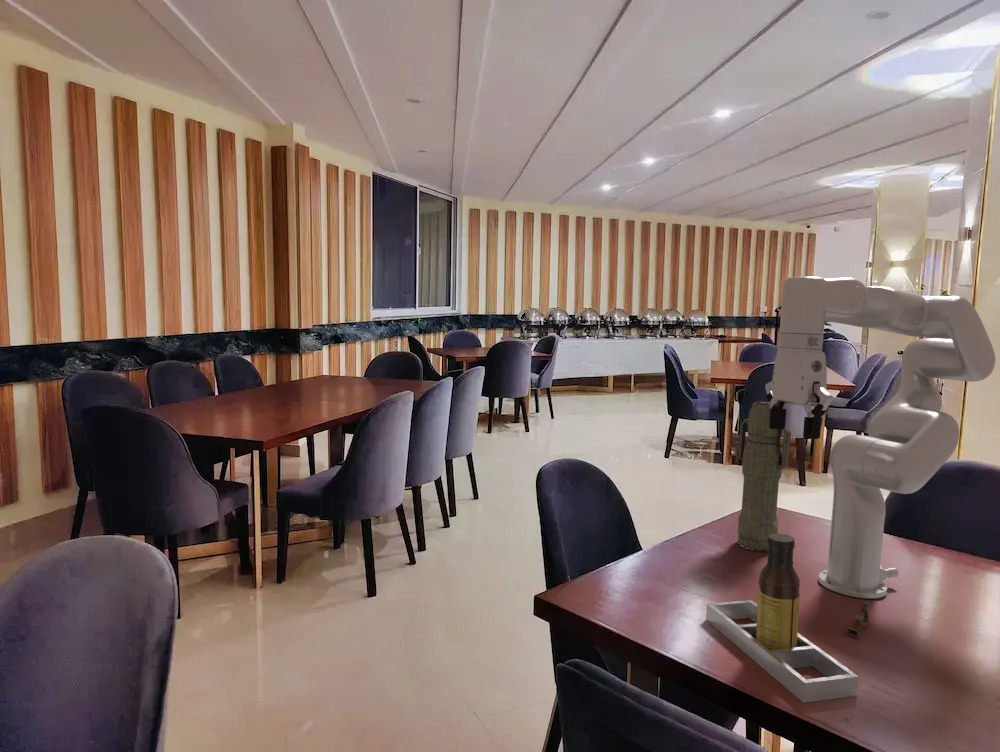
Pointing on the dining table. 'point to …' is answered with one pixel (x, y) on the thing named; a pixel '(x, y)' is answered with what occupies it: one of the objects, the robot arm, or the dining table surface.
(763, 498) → the thermos
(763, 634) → the sauce bottle
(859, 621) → the wooden post with brackets
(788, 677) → the rack with square compartments
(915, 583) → the dining table surface
